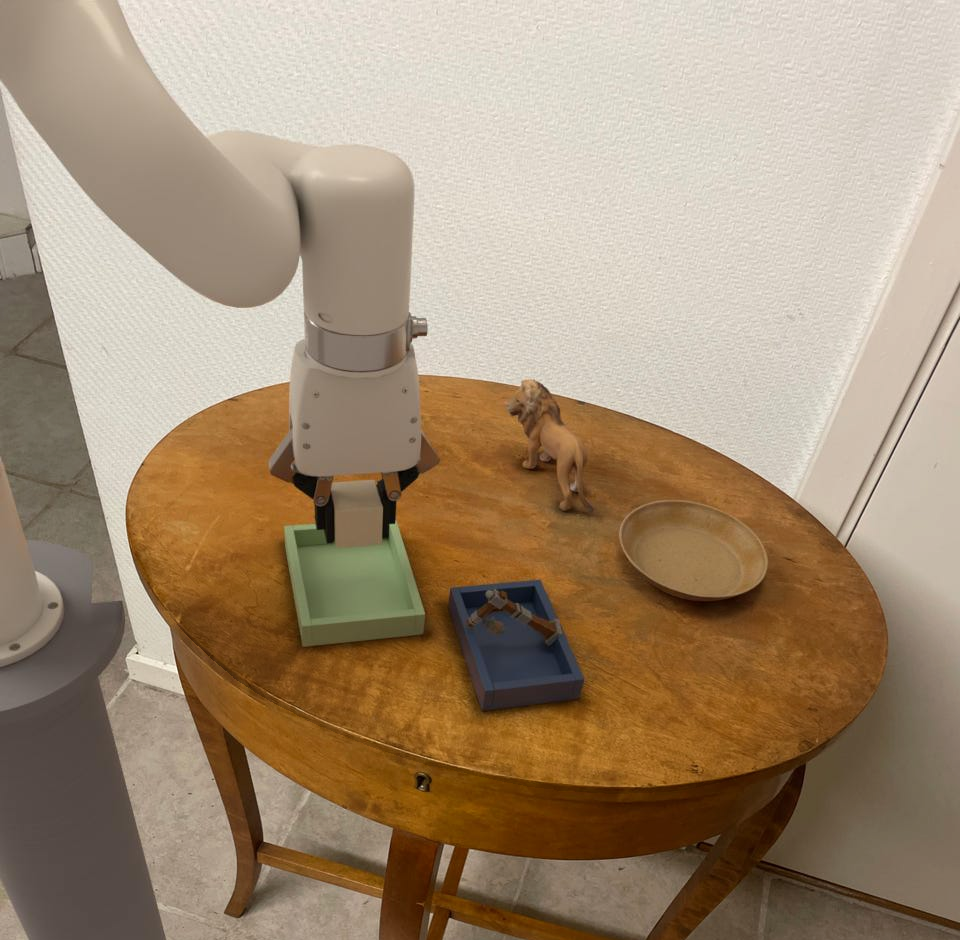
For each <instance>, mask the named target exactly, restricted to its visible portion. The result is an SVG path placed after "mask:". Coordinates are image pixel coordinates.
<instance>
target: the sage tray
mask: <svg viewBox="0 0 960 940" xmlns="http://www.w3.org/2000/svg"><path fill="white" fill-rule="evenodd" d="M283 530H284V531H283V532H284V549H285V552H286V560H287V564H288V565H287V566H288V571H289V577H290V583H291V587H292V594H293V599H294V607H295V610H296V618H297V622H298V628H299V633H300V640H301V645H302V648H305V647H314V646H315V647H316V646H324V645H333V644H345V643H353V642H364V641H373V640H383V639H391V638H401V637H410V636H411V637H412V636H421V635H422V636H423V635H424V632H425V621H426V612H425V609H424V605H423V602H422V599H421V596H420V592H419V589H418V586H417V582H416V579H415V576H414V573H413V570H412V567H411V563H410V560H409V557H408V553H407V549H406V547H405V544H404V541H403V538H402V537H403V536H402V534H401V531H400V527H399V524H398V521H397V520H396V522H395V524H389V538H388V539H382V544H380V545H368V546H357V547H345V548H336V547H335V543H334V542H333V543H329V544H327V542H326V538H325V533H324V530H317V529H316V523H307V524H294V525H293V524H291V525H284V526H283Z"/></svg>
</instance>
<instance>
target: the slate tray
mask: <svg viewBox="0 0 960 940" xmlns="http://www.w3.org/2000/svg"><path fill="white" fill-rule="evenodd" d="M494 589H496V590H497V591H499V592H501V591H504V592H506V594H507V598H506V599H508V600H510V601H511V602H513V603H514V604H515V603H517V604H519V607H520V606H522V607H523V608H525V609H526V610H528V611H530V612H531V614H532V615H534V616H536V617H539V618H542V619H544V620H547V621H551V622H552V621H553V620H554V619H557V620H558V616H557V613H556V610H555V608H554V607H553V604H552V602H551V600H550V598H549V596H548V593H547V591H546V589H545V586H544V584H543V582H542V580H541V579H533V580H532V579H531V580H520V581H508V582H497V583H485V584H477V585H465V586H463V585H462V586H456V587H449V593H448V602H447V611H448V613H449V616H450V619H451V622H452V625H453V628H454V631H455V634H456V637H457V640H458V643H459V646H460V649H461V652H462V655H463V658H464V661H465V664H466V667H467V669H468V673H469V676H470V679H471V682H472V685H473V688H474V691H475V695H476V697H477V700H478V704H479V706H480V709H481V711H482V712H485V711H494V710H501V709H508V708H517V707H525V706H532V705H534V706H535V705H541V704H549V703H558V702H564V701H573V700H579V699H580V697H581V693H582V690H583V686H584V684H585V683H584V682H585V677H584V675H583V672H582V670H581V668H580V665H579V663H578V661H577V659H576V657H575V654H574V652H573V650H572V647H571V645H570V643H569V641H568V638H567V637H566V634H565V631H564V630H563V627H562V625H561V623H560V621H559V623H560V627H561V631H562V634H561V635H560V636H557V637H556V640H554V641H553V642H552V643H551V644H550V645H549V646H548V645H547V644H545V640H544V637H543V636H542V635H541V634H540V633H538V632H537V631H536V630H534V629H533V628H532V627H530V626H528V625H527V624H526V625H524V624H522V623H521V622H519V621H517V620H515V617H514V618H512V617H510V614H509V613H508V612H506V611H502V612H498V613H493V614H488V615H486V616H485V617H483V619H486V618H488V619H489V620H490V619H491V618H492V617H493V616H494V620H496V621H498V622H502V623H503V627H504V628H505V633H503V634H498V635H497V636H496V634H494V633H493V632H491V631H489V632H487V630H486V625H485V626H484V624H483V623H482V622H481V621H480V622H479V623H478V624H477V623H476V625H475V626H473V627H472V628H470V627H469V626H467V623H466V620H468V619H469V617H471V615H472V614H473V613H474V612H475V611H476V610H477V611H478V610H479V609H480V608H482V607H483V606H484V605H485V604H486V603H487V602H488V598H487V597H486V596H485V593H486V592H487V591H488V590H491V591H493V590H494ZM495 608H497V607H495ZM495 608H494V609H495ZM482 621H483V620H482Z"/></svg>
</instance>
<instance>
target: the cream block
mask: <svg viewBox="0 0 960 940" xmlns="http://www.w3.org/2000/svg"><path fill="white" fill-rule="evenodd" d="M376 482H377V481H376V480H375V479H363V480H362V479H361V480H350V481H335V482H334V481H333V482H332V486H331V495H332V499H333V503H334V528H335V541H334V543H335V547H336V548H345V547H357V546H368V545H380V544H382V525H383V506H382V503H381V499H380V496H379V493H378V489H377V486H376V485H377V483H376Z"/></svg>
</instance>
